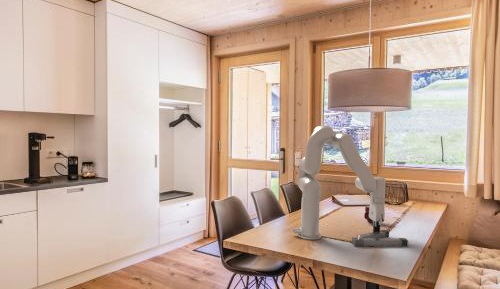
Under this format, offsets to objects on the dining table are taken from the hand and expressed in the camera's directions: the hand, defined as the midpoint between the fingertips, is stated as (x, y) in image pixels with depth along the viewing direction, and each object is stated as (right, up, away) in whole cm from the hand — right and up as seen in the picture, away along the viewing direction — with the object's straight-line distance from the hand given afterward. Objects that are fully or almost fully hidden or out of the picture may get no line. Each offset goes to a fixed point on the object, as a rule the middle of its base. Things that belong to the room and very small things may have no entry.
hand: (376, 233), depth 189 cm
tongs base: (-4, -2, -15) cm, 16 cm away
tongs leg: (-4, -2, -6) cm, 8 cm away
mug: (+5, 0, +25) cm, 26 cm away
